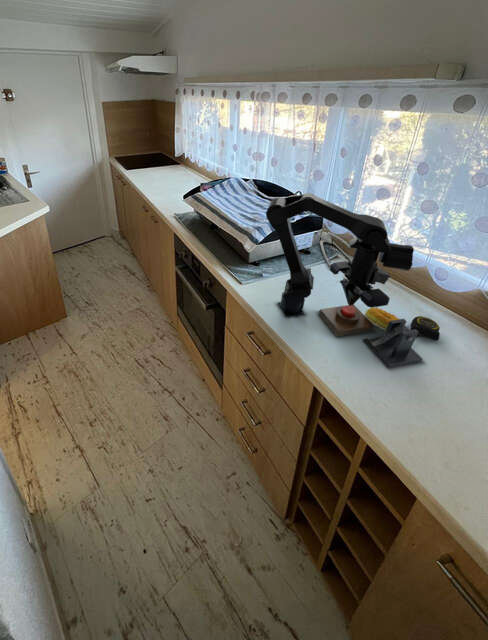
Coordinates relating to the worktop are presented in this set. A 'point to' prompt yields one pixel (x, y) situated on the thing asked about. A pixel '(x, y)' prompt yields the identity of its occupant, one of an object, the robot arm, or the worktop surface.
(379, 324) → the yellow donut
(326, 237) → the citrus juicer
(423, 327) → the tape measure
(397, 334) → the lever
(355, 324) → the button block
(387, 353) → the bracket
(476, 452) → the worktop surface
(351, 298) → the robot arm
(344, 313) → the button
